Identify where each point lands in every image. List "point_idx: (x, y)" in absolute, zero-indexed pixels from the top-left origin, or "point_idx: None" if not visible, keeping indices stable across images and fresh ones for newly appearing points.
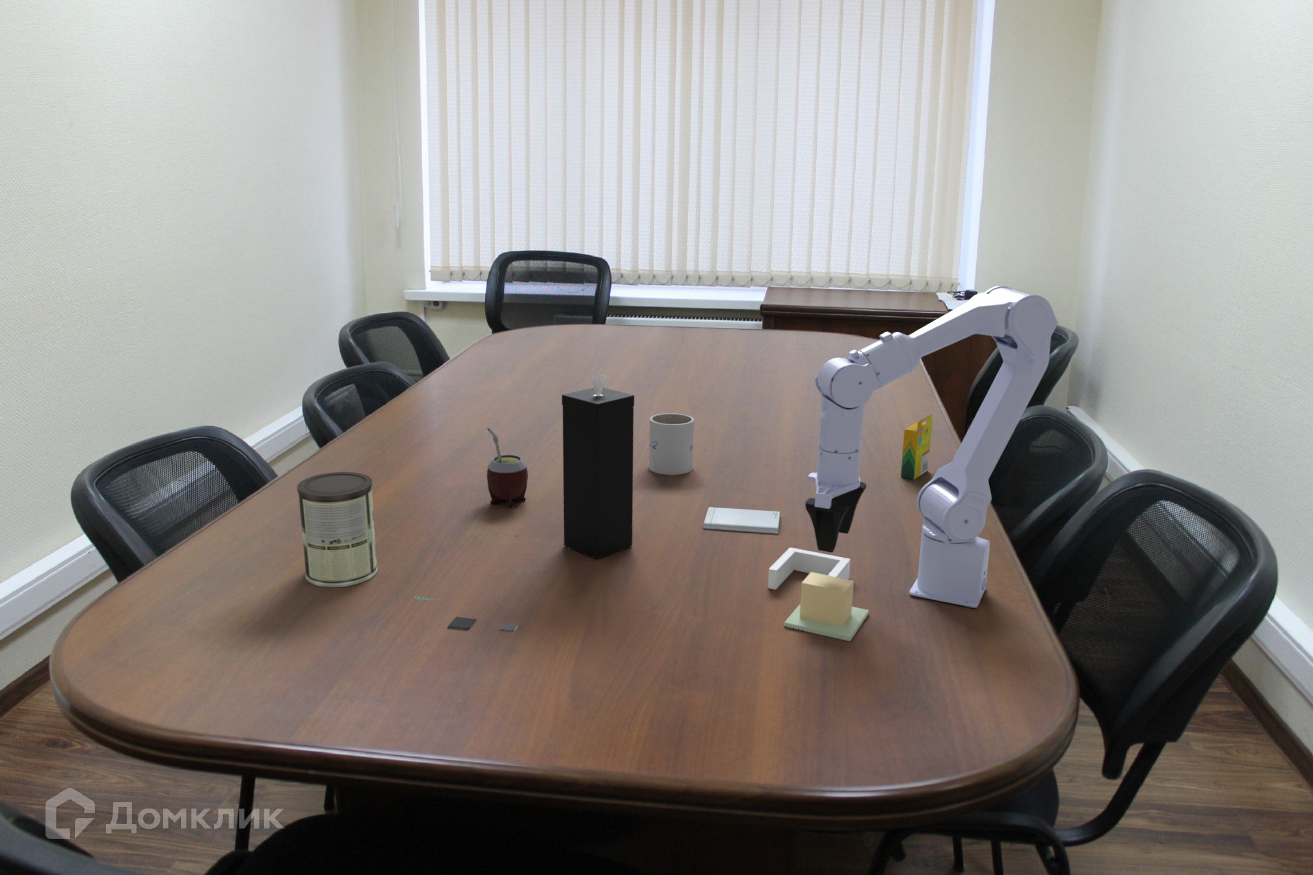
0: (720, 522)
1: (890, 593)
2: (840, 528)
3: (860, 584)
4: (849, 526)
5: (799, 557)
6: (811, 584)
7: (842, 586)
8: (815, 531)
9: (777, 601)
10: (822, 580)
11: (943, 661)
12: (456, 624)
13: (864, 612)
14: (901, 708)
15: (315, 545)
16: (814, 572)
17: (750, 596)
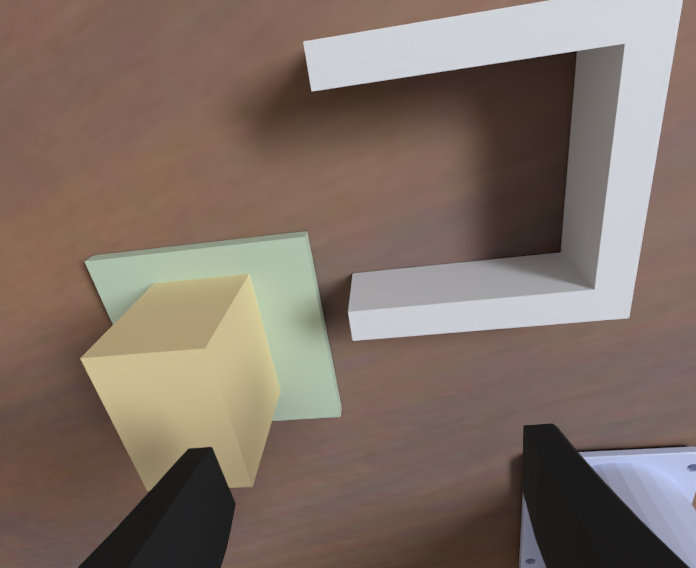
0: None
1: (518, 412)
2: (529, 482)
3: (546, 326)
4: (538, 543)
5: (606, 75)
6: (99, 392)
7: None
8: (91, 558)
9: (233, 146)
10: (165, 410)
11: (232, 560)
12: None
13: (317, 412)
14: (20, 545)
15: None
16: (571, 152)
17: (193, 20)
